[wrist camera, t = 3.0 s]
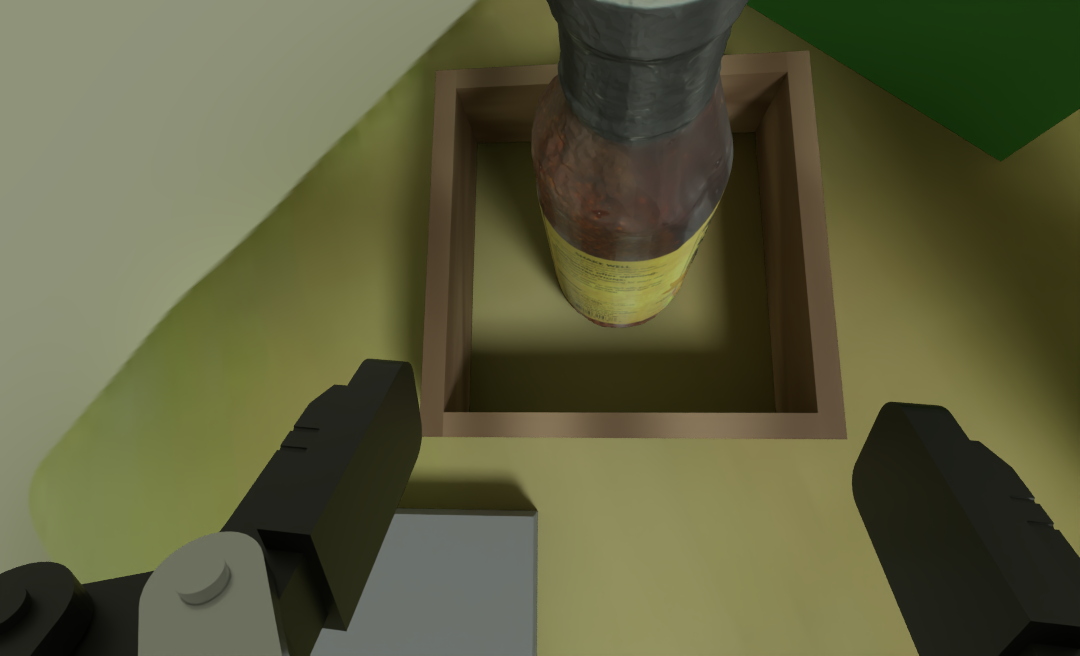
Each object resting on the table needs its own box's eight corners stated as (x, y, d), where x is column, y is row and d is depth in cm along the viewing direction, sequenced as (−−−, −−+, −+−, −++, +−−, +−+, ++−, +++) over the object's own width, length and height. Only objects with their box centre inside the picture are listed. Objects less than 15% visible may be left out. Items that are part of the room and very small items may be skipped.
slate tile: (537, 510, 27) (533, 516, 25) (535, 793, 25) (531, 824, 23) (299, 506, 28) (278, 511, 26) (277, 777, 26) (251, 805, 24)
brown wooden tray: (773, 114, 30) (809, 50, 25) (799, 438, 26) (847, 439, 22) (460, 127, 31) (436, 70, 26) (448, 436, 28) (418, 436, 23)
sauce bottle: (696, 310, 28) (934, 26, 9) (577, 348, 28) (550, 153, 9) (652, 195, 29) (773, -272, 10) (540, 232, 30) (443, -158, 10)
